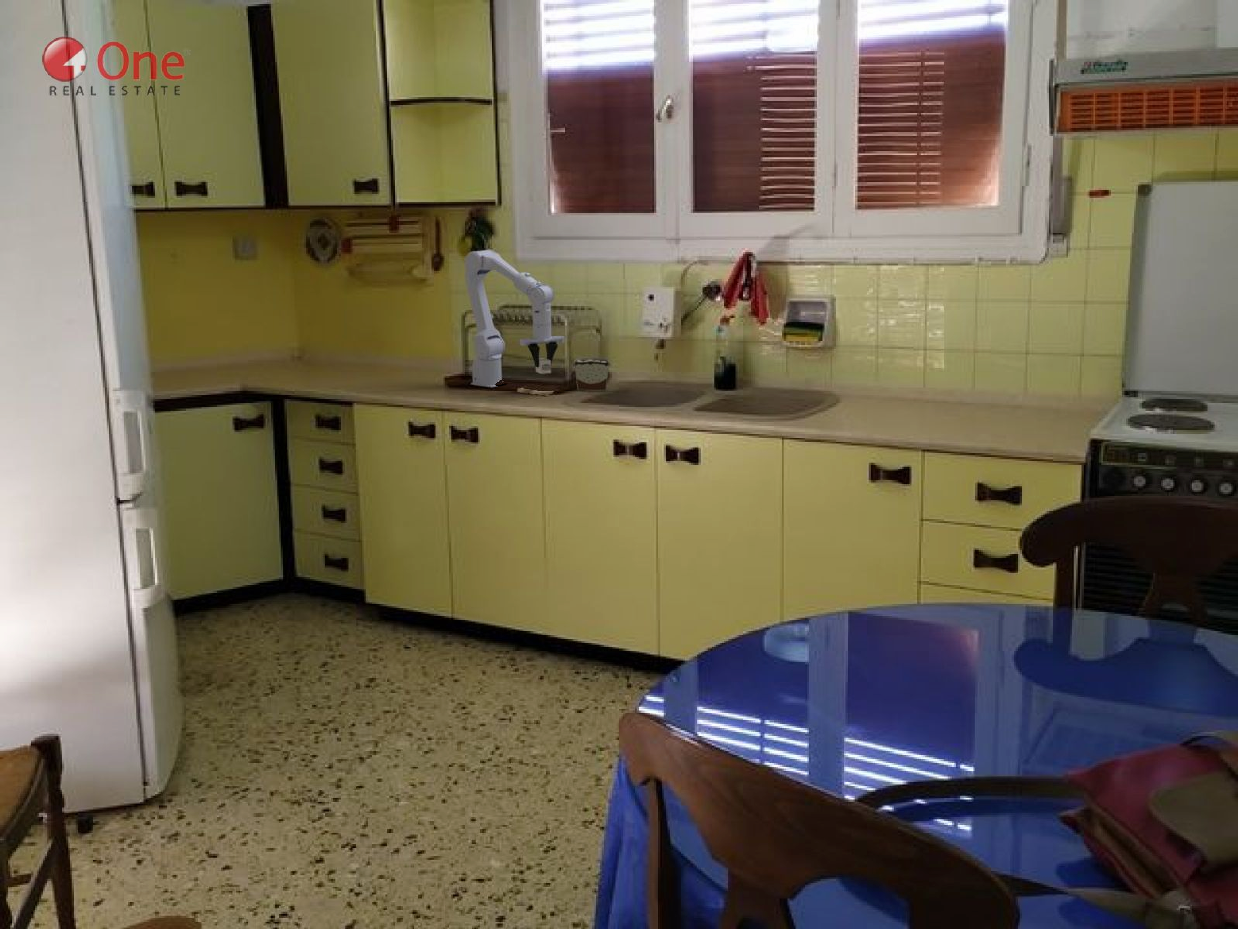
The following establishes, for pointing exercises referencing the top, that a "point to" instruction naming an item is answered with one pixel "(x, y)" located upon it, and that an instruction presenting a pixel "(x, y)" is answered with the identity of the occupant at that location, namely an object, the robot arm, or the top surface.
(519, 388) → the trivet
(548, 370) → the plug
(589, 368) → the food container
